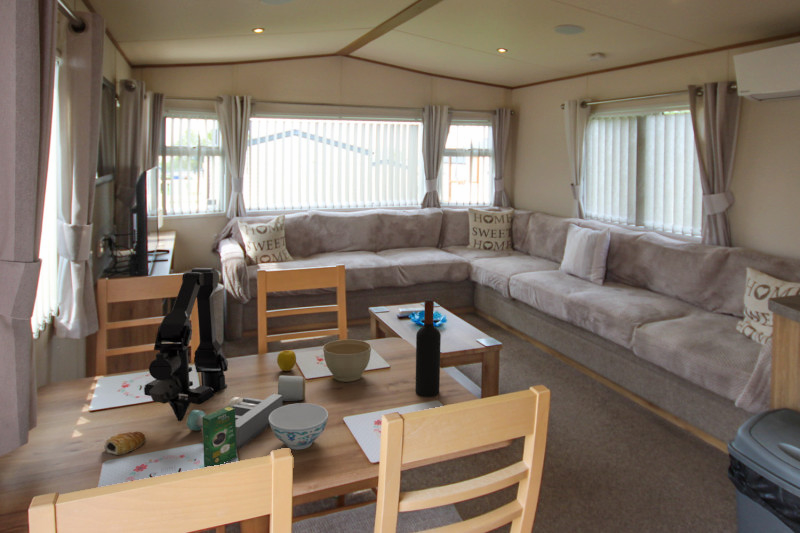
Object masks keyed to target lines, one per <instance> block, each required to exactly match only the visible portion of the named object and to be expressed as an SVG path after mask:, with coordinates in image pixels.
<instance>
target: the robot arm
mask: <svg viewBox="0 0 800 533" xmlns="http://www.w3.org/2000/svg"><path fill="white" fill-rule="evenodd" d="M181 277H182V281H181V282H182V283H181V285H180V287H179V291H178V293H177V296H176V299H175V301H174V304H173V307H172V309H171V311H170V312H168V313H166V315H164V317H163V319H162V320H161V323H160V324H159V325H158V328H157V332H156V337H155V341H154V347H153V350H154V351H159V352H157V353H156V354H155V359H152V361H151V362H150V363H149V367H148V372H149V374H150V376H151V377H152V378H154V380H152V381H150V382H148V383H146V384H145V386H144V387H143V391H144V392H143V393H144V396H148V397H149V396H150V397H151V399H152V402H154V403H161V404H164V405H165V404H169V406H170V407H171V409H172V411H173V413H174V416H175V417H176V420H177V421H178V422H182V421H184V418H185V416H186V413H187V412H188V409H189V407H190V405H191V404H193V405H203V404H204V403H205V402H207V401H209V400H211V399H212V398H214V397H215V394H216V393H218V392H220V391H222V390H223V389H225V388H227V387H228V384H227V383H226V375H225V373H224V372H227V371H228V370H229V369H228V365H229V361H228V359H227V358H226V356H225V353H223V347H222V345H221V344H220V343H219V342H218V340H217V337H216V336H217V334H216V322H215V321H216V320H215V304H214V294H215V293H216V290H217V288H218V287H219V281H220V273H219V272H218V271H217V270H216V269H215V268H214V267H193V268H191V271H185V272H184V273H183V274H182V276H181ZM195 302H196V305H197V318H198V333H199V344H198V346H197V348H196V349H195V351H194V356H193V357H194V359H193V360H194V361H193V363H194V366H195V371H196V373H200V376H201V380H200V381H201V385H199V386H196V387H195V388H194V387H192V386H194V382H193V380H192V381H190V373H191V372H192V371H193V367H192V366H189V350H188V347H189V344H190V341H191V337H192V334H193V329H192V324H191V321H190V317H191V315H192V312H193V308H194V305H195Z"/></svg>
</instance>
